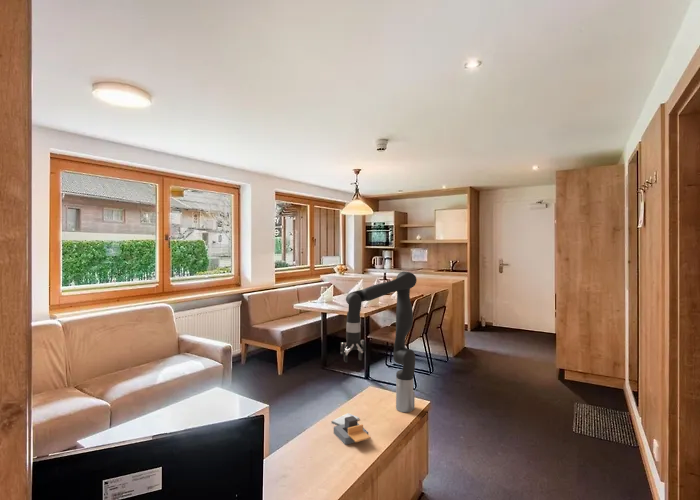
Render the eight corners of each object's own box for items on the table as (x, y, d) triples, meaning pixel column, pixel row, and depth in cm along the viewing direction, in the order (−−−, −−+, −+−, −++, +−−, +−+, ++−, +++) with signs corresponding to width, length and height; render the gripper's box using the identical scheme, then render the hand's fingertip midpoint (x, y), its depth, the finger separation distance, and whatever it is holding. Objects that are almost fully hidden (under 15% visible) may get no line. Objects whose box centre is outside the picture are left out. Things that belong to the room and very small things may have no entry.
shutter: (362, 430, 171) (362, 424, 171) (370, 438, 164) (370, 431, 164) (347, 434, 168) (347, 427, 168) (355, 442, 161) (355, 435, 161)
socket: (355, 427, 181) (355, 421, 181) (368, 438, 171) (368, 432, 171) (333, 433, 176) (333, 426, 176) (345, 444, 165) (345, 438, 165)
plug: (352, 432, 176) (352, 415, 176) (357, 436, 172) (357, 419, 172) (344, 434, 174) (344, 417, 174) (349, 439, 170) (349, 421, 170)
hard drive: (343, 426, 180) (359, 417, 190) (331, 420, 186) (347, 412, 195) (343, 429, 180) (359, 420, 190) (331, 424, 186) (347, 415, 195)
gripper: (344, 333, 190) (344, 364, 190) (368, 330, 196) (368, 361, 196) (338, 330, 196) (338, 360, 196) (361, 327, 203) (361, 357, 203)
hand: (353, 360), depth 196 cm, fingers open, 8 cm apart
